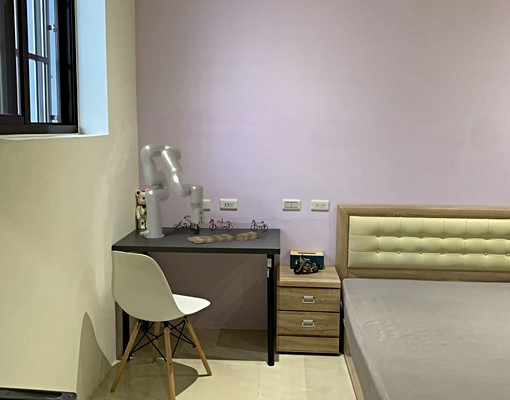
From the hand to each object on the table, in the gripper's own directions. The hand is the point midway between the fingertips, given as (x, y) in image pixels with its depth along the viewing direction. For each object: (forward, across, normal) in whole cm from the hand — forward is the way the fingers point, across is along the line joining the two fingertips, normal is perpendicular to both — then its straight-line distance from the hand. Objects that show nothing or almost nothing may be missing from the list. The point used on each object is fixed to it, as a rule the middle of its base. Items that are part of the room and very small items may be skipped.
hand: (196, 234), depth 355 cm
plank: (+4, 0, -4) cm, 6 cm away
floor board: (+4, 0, -18) cm, 19 cm away
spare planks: (+4, -8, -32) cm, 34 cm away
